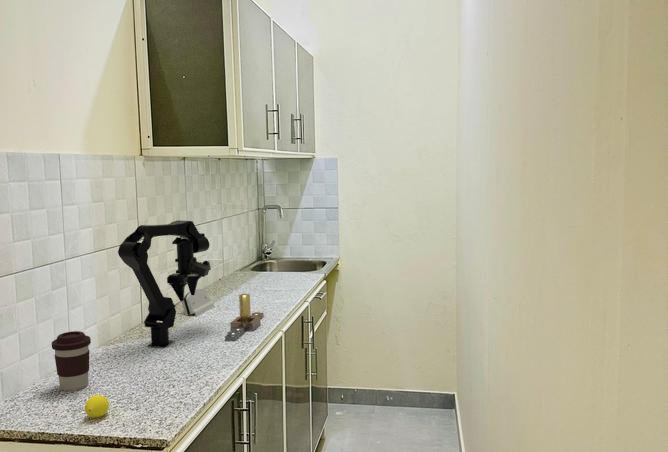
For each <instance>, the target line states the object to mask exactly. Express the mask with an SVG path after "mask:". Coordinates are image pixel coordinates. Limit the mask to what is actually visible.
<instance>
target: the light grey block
mask: <svg viewBox="0 0 668 452" xmlns="http://www.w3.org/2000/svg"><path fill="white" fill-rule="evenodd" d="M181 304H182V309H183V312H184V315H185V316H186V317H188V316H189V315H193V314H194V315H195V317H198V316H200V315H202V314H204V313H205V312H208V311H209V310H211V309H213V308H215V307H216V306H215V304H214V302H213V301H211V300H210V298H209V295H208V293H207V290H206V289H204V288H196V290H195V295H191V293H190V291H188V292H187V293H184V301H181Z"/></svg>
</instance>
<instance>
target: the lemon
mask: <svg viewBox="0 0 668 452" xmlns="http://www.w3.org/2000/svg"><path fill="white" fill-rule="evenodd" d="M109 407H110V402H109V400H108V398H107V397H106V396H103V395H101V394H95V395H92V396H91V397H89V398H88V399H87V401H86V402H85V405H84V412H85V414H86V415H87V416H88V417H90V418H94V419H97V418H101V417H103V416H104V415H105V414H106V413H107V412H108V411H109Z"/></svg>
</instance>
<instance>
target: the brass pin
mask: <svg viewBox="0 0 668 452" xmlns="http://www.w3.org/2000/svg"><path fill="white" fill-rule="evenodd" d="M238 300H239V301H238V302H239V307H238V308H239V317H240V322H251V315H252V313H251V294H250V293H239V295H238Z"/></svg>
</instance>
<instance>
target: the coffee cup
mask: <svg viewBox="0 0 668 452" xmlns="http://www.w3.org/2000/svg"><path fill="white" fill-rule="evenodd" d="M91 341H92V340H91V337H90V336H89V335H86V334H85V332H84V331H78V330H75V331H66V332H63V333H61V334H60V333H59V334H58V335H57V337H56V339H54V340H52V341H51V349H52V350H54V353H55V354H54V360H55V361H54V362H55V367H56V373H57V376H58V382H59V387H60V388H59V389H61V390H62V391H66V392H72V391H78V390H81V389H83V388H85V387H87V386H88V384H89V371H90V349H89V347H90V346H89V345H91V343H92V342H91Z"/></svg>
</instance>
